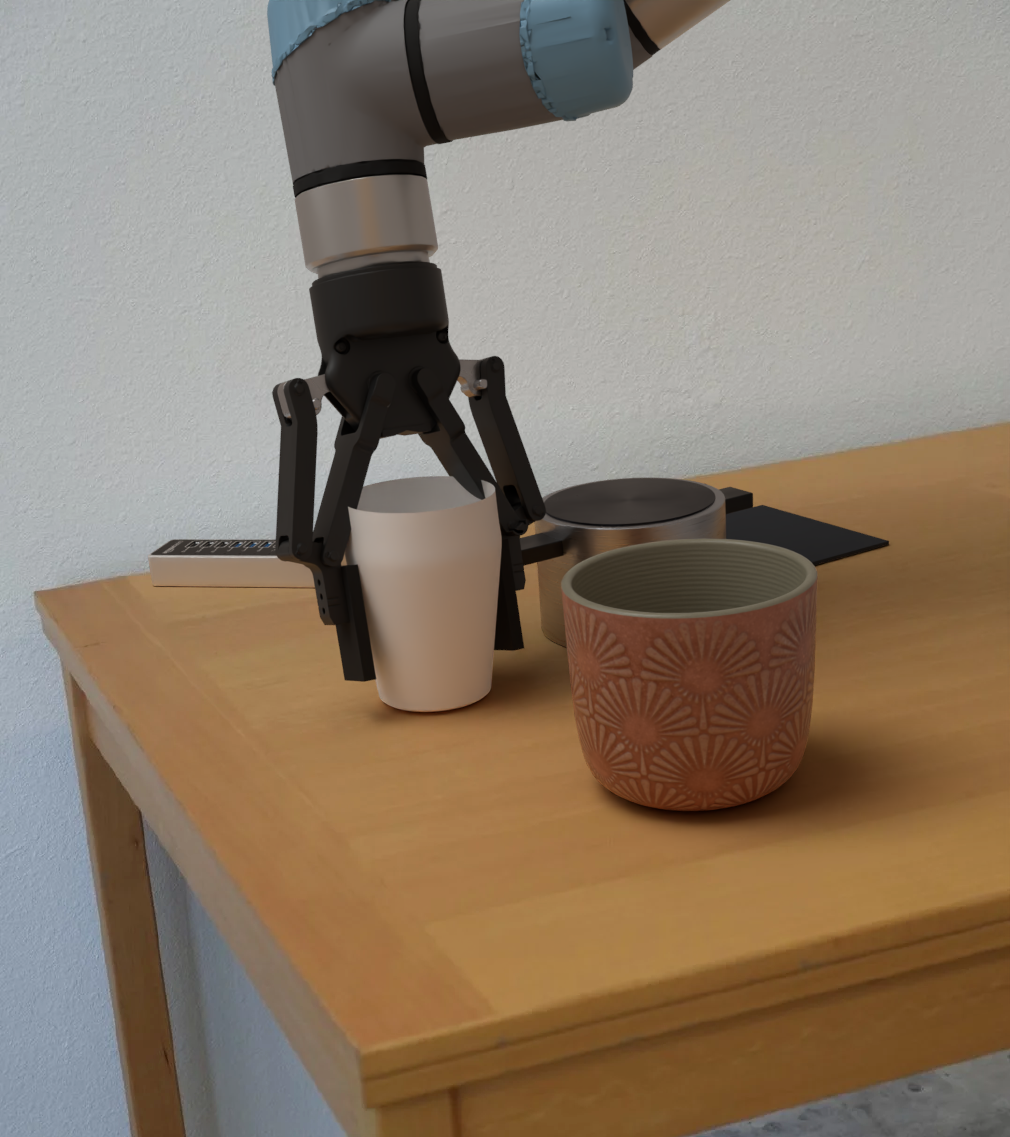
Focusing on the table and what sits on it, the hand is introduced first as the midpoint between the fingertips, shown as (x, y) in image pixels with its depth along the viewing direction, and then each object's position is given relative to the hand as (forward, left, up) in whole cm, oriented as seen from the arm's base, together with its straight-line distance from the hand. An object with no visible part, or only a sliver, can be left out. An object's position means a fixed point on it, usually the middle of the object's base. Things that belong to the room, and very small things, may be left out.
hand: (435, 664), depth 99 cm
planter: (-19, -4, -2) cm, 19 cm away
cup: (+1, 0, -2) cm, 2 cm away
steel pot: (+3, -16, -2) cm, 17 cm away
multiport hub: (+31, -2, -2) cm, 31 cm away
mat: (+11, -32, -2) cm, 34 cm away
